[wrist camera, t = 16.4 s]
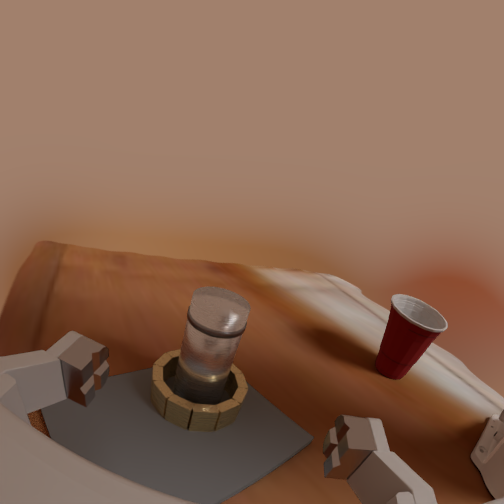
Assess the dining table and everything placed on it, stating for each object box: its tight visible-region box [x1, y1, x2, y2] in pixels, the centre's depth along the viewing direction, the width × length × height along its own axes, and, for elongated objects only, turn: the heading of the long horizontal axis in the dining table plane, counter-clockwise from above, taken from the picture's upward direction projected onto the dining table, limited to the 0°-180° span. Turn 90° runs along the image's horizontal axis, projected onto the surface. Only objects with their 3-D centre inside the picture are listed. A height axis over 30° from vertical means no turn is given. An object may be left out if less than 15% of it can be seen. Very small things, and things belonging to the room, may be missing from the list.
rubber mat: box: [41, 367, 314, 504], centre depth 24 cm, size 23×17×1 cm
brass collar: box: [150, 349, 248, 432], centre depth 29 cm, size 10×10×3 cm
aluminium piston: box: [172, 287, 250, 405], centre depth 27 cm, size 5×5×12 cm
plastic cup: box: [375, 294, 448, 379], centre depth 43 cm, size 11×11×12 cm
